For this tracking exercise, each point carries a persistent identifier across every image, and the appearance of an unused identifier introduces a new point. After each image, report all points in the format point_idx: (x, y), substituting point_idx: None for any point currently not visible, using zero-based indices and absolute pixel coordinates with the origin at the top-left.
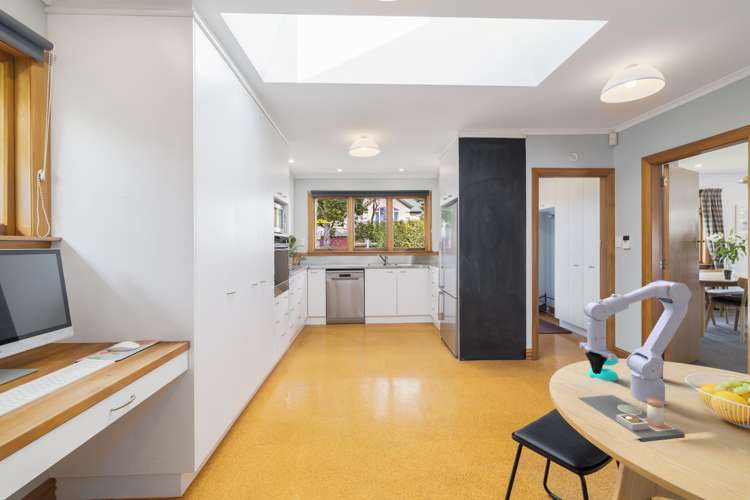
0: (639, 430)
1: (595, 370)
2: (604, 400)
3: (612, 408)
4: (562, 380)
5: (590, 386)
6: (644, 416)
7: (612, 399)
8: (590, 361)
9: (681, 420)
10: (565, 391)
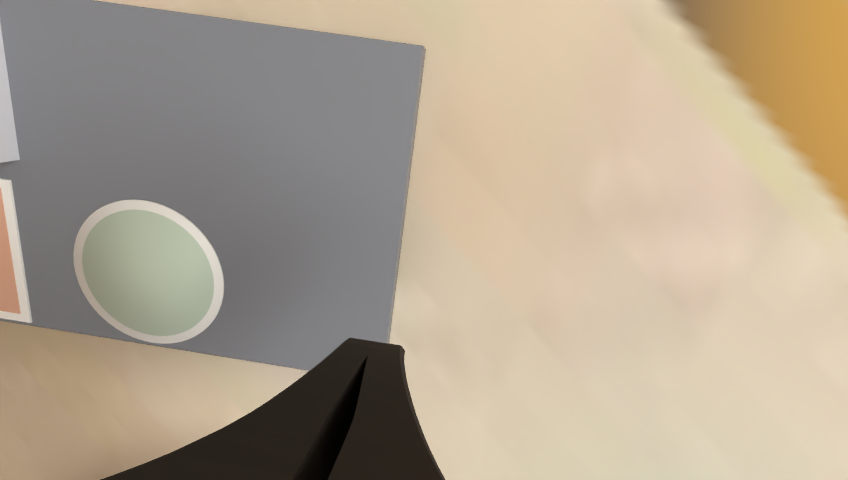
0: None
1: (321, 361)
2: (317, 238)
3: (184, 171)
4: (815, 284)
5: (603, 396)
6: (54, 280)
7: (317, 312)
8: (384, 454)
9: (64, 455)
10: (624, 108)
